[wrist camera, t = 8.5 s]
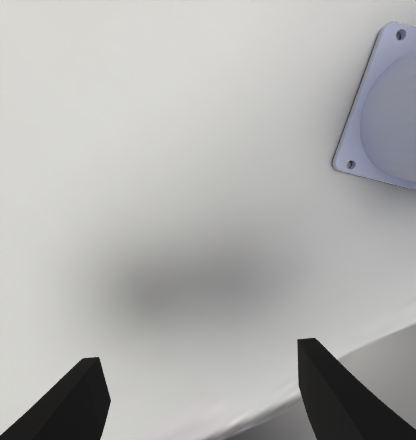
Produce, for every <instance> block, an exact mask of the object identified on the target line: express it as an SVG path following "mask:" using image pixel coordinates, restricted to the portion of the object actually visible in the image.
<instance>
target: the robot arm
mask: <svg viewBox="0 0 416 440" xmlns="http://www.w3.org/2000/svg"><path fill="white" fill-rule="evenodd" d="M397 32H399V33H400V34H401V39H400V40H398V39H397V38H396V33H397ZM349 161H352V166H351V168H349V169H348V168H347V163H348V162H349ZM333 167H334V168H335V169H336V170H338V171H342V172H346V173H350V174H354V175H358V176H361V177H365V178H369V179H373V180H377V181H381V182H385V183H389V184H393V185H397V186H401V187H405V188H409V189H413V190H416V28H414V27H411V26H408V25H404V24H401V23H397V22H390V23H388V24H387V25H385V26H384V27H383V28H382V29H381V31H380V33H379V35H378V38H377V41H376V44H375V46H374V49H373V52H372V55H371V57H370V60H369V63H368V66H367V68H366V71H365V74H364V77H363V79H362V82H361V85H360V88H359V90H358V93H357V96H356V99H355V101H354V104H353V107H352V110H351V112H350V115H349V118H348V121H347V123H346V126H345V129H344V132H343V134H342V137H341V140H340V143H339V145H338V148H337V151H336V154H335V156H334V159H333ZM297 342H298V378H299V388H300V391H301V395H302V398H303V402H304V405H305V408H306V412H307V415H308V418H309V421H310V423H311V426H312V428H313V431H314V433H315V436H316V438H317V440H416V429H414V428H413V427H412V426H410V425H409V424H408V423H407V422H406V421H404V420H403V419H402V418H401V417H400V416H398V415H397V414H396V413H395V412H394V411H392V410H391V409H390V408H389V407H387V406H386V405H385V404H384V403H383V402H382V401H381V400H379V399H378V398H377V397H376V396H375V395H374V394H373V393H372V392H370V391H369V390H368V389H367V388H366V387H365V386H364V385H363V384H362V383H361V382H360V381H358V380H357V379H356V378H355V377H354V376H353V375H352V374H351V373H350V372H349V371H348V370H347V369H346V368H345V367H344V366H343V365H342V364H341V363H340V362H339V361H338V360H337V359H336V358H335V357H334V356H333V355H332V354H331V353H330V352H329V351H328V350H327V349H326V348H325V347H324V346H323V345H322V344H321V343H320V342H319V341H318V340H317V339H315V338H308V339H297ZM110 402H111V399H110V396H109V392H108V388H107V385H106V381H105V377H104V374H103V370H102V366H101V363H100V359H99V357H94V358H83V359H82V360H81V361H79V362H78V363H77V364H76V365H75V366H74V367H73V368H72V369H71V370H70V371H69V372H68V373H67V374H66V375H65V376H64V377H63V378H62V379H61V380H59V381H58V382H57V383H56V384H55V385H54V386H53V387H52V388H51V389H50V390H49V391H48V392H47V393H46V394H45V395H44V396H43V397H42V398H41V399H40V400H39V401H38V402H37V403H36V404H34V405H33V406H32V407H31V408H30V409H29V410H28V411H27V412H26V413H25V414H24V415H23V416H22V417H20V418H19V419H18V420H17V421H16V422H15V423H14V424H13V425H12V426H10V427H9V428H8V429H7V430H6V431H5V432H4V433H3V434H2V435H0V440H100V438H101V436H102V433H103V429H104V425H105V422H106V418H107V414H108V410H109V406H110Z"/></svg>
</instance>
